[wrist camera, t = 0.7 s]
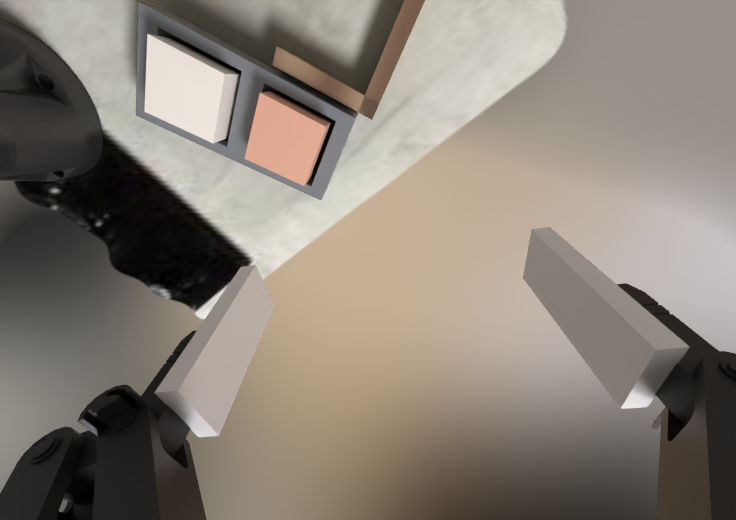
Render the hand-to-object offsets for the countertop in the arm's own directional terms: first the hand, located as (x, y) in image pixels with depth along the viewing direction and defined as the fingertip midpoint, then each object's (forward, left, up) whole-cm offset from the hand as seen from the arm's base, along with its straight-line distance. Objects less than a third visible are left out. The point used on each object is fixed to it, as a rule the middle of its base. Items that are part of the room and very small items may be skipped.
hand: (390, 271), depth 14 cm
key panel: (-14, -1, -22) cm, 26 cm away
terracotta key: (-10, -1, -19) cm, 21 cm away
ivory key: (-19, -1, -19) cm, 27 cm away
